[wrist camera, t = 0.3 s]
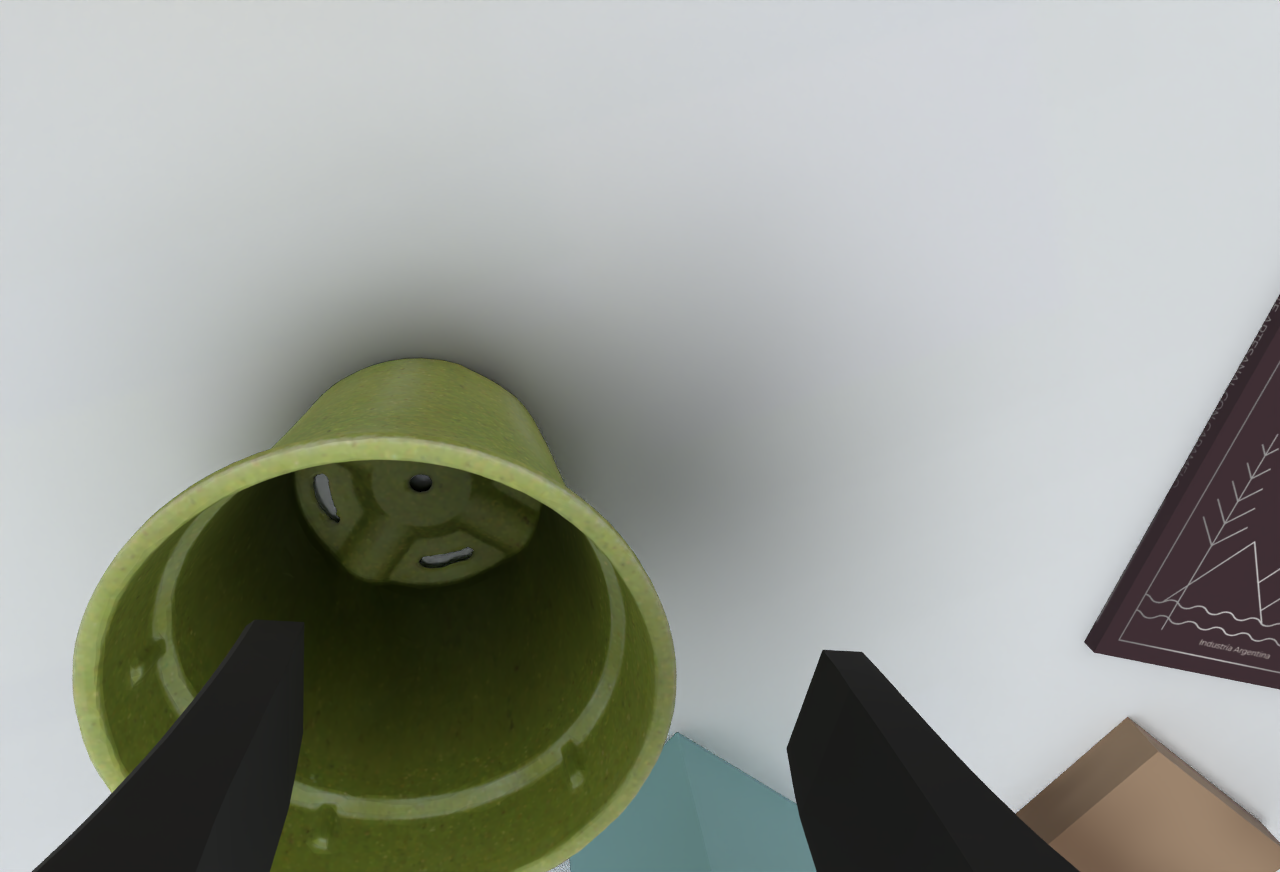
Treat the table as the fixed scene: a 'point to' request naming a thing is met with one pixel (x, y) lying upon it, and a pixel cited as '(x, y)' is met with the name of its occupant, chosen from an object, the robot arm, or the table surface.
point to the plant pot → (401, 631)
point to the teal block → (700, 822)
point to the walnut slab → (1146, 814)
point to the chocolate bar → (1213, 544)
